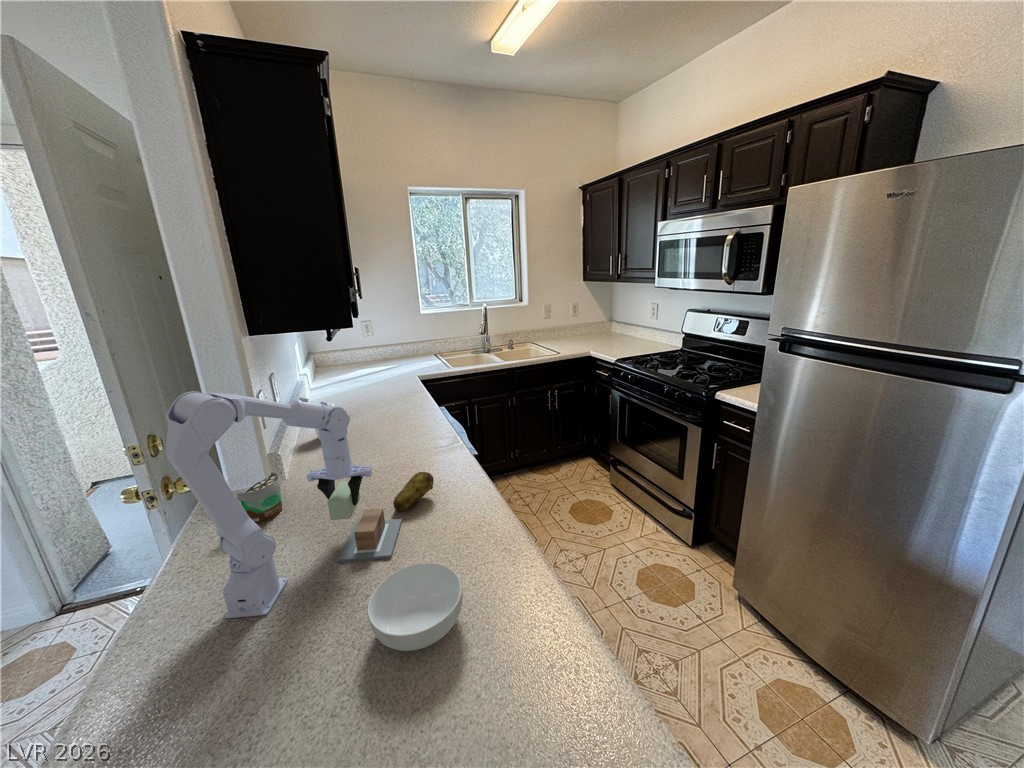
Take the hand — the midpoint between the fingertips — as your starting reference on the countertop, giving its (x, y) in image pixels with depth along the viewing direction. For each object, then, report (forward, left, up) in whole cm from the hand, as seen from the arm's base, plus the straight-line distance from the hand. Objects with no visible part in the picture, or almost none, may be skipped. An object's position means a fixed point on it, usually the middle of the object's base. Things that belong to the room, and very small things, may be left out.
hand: (345, 504), depth 98 cm
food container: (+12, +25, -9) cm, 29 cm away
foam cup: (+66, +29, -9) cm, 73 cm away
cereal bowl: (-29, -21, -9) cm, 37 cm away
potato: (+13, -14, -9) cm, 21 cm away
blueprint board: (-3, -6, -9) cm, 11 cm away
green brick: (0, 0, -1) cm, 1 cm away
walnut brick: (-3, -6, -8) cm, 11 cm away
